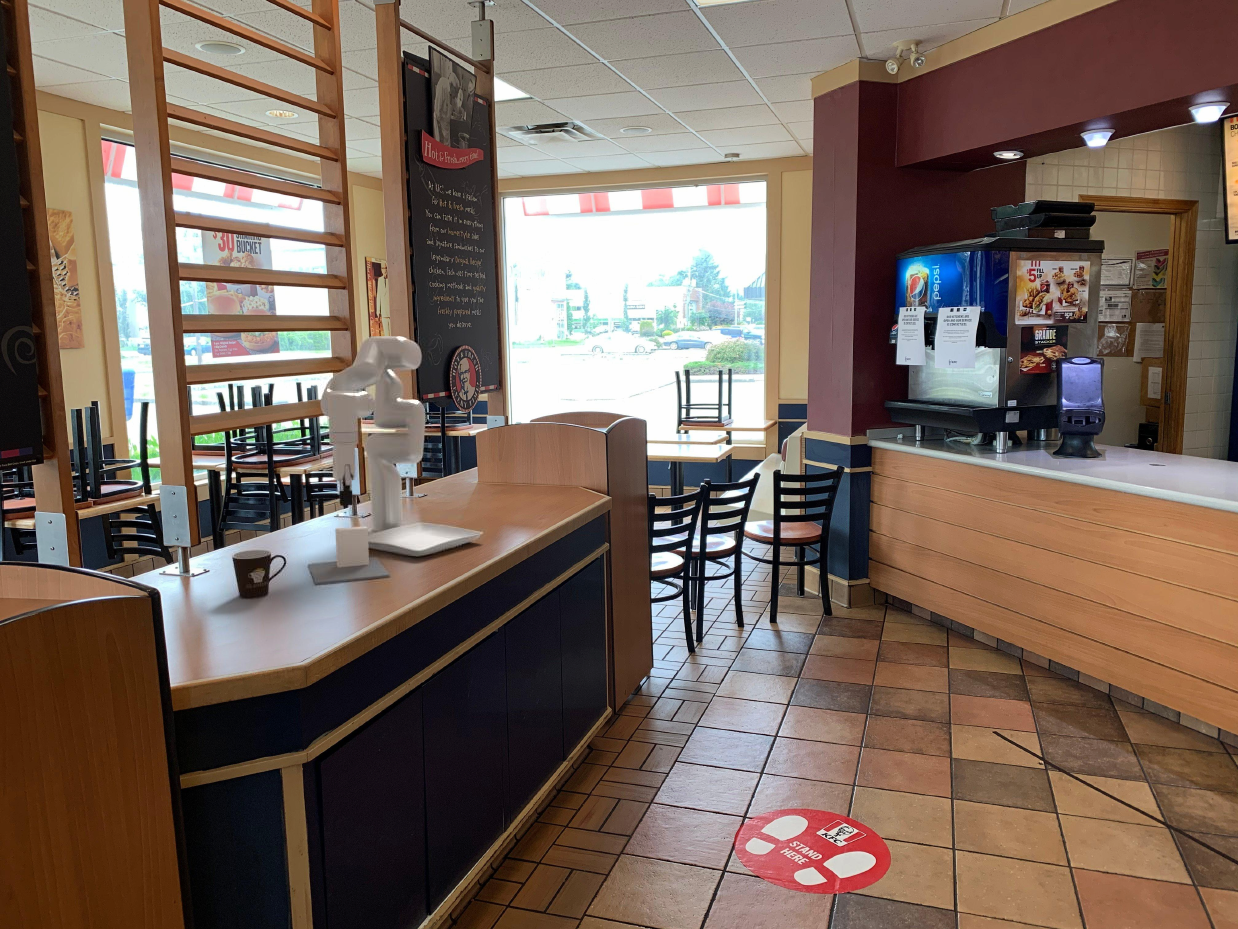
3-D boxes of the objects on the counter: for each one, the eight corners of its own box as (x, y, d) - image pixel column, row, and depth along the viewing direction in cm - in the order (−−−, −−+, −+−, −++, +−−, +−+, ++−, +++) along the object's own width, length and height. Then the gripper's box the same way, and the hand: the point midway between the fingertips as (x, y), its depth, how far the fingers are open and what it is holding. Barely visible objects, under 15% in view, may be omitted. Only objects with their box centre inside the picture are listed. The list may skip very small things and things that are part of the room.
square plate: (420, 532, 279) (419, 520, 278) (485, 543, 264) (484, 531, 264) (352, 549, 257) (351, 536, 256) (418, 562, 242) (418, 549, 241)
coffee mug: (231, 601, 205) (229, 559, 203) (237, 591, 213) (234, 551, 212) (284, 597, 208) (282, 556, 206) (288, 587, 216) (286, 548, 215)
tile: (336, 565, 235) (335, 528, 234) (367, 562, 238) (366, 526, 237) (338, 567, 233) (336, 530, 231) (369, 564, 236) (367, 528, 235)
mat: (308, 566, 236) (308, 563, 236) (376, 559, 244) (376, 557, 244) (316, 584, 218) (316, 582, 218) (389, 576, 226) (389, 574, 226)
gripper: (326, 436, 243) (328, 501, 245) (333, 441, 229) (335, 510, 232) (354, 435, 246) (356, 500, 248) (362, 440, 233) (364, 508, 235)
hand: (346, 504), depth 240 cm, fingers closed
